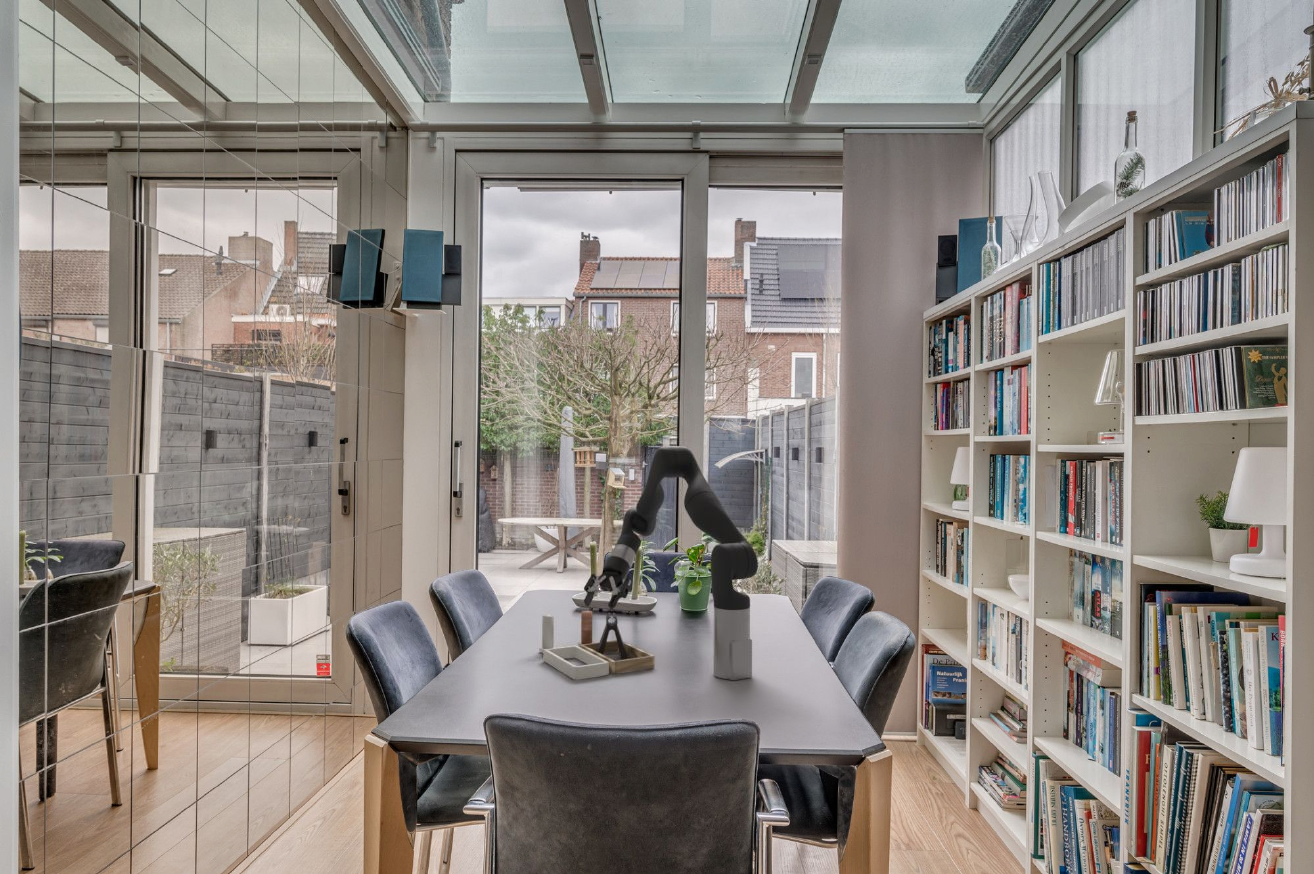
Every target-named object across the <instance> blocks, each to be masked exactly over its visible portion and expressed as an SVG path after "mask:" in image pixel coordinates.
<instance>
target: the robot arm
mask: <svg viewBox="0 0 1314 874" xmlns="http://www.w3.org/2000/svg"><path fill="white" fill-rule="evenodd" d="M664 478H666V479H669V478H670V479H673V478H680V479H681V478H682V479H683V480H685V482H686V484H687V489H686V492H685V495H684V499H683V507H684V509H685V511H686V513H687V515H688V516H689V519H690V520H691V522H692V523H693V526H696V528H698V529H699V530H700V531H701V532H702V533H703V534H704V533H705V534H706V535H707V536H709V537H711V538H712V539H714V540H716V541H717V542H718V544H715V546H714V547H713V549H712V550H711V554H710V575H711V576H710V577H711V578H710V579H711V581H710V582H711V595H712V599H713V676H714V677H716V678H719V679H724V680H731V681H737V680H742V679H749V678H752V677H753V639H751V597H750V595H748V594H746V593H744V592H741V591H738V590H736V589H735V588H734V585H733V583H734V582H733V581H736V580H737V581H738V580H746V579H750V578H752V577H755V575H756V574H757V572H758V569H759V560H758V557H757V554H756V551H755V550H754V548H753V546H752V545H751V544H750V542H749V541H748V539H747V538H746V537H745V536H744V535H743V533H742V532H741V531H740V529H738V528H737V525H735V524H734V522H733V521H732V519H731V518H730V516H729V515H728V513H727V512H726V509H725V508H724V506H723V505H722V503H721V502H720V500H719V498H718V496H717V495H716V494H715V492H714V491H713V489H712V488H711V487H710V485H709V483H708V481H707V480H706V478H705V477H704V475H703V473H702V470H701V468H700V465H699V464H698V461H697V459H696V458H695V456H694V453H693V452H692V451H691V449H690V448H688V447H686V446H682V445H677V446H676V445H675V446H674V445H669V446H668V445H667V446H666V445H665V446H661V447H659V448H657V450H656V451H655V453H654V455H653V458H652V462H651V465H650V468H649V472H648V476H647V480H646V483H645V487H644V489H643V491H642V494H641V495H640V497H639V500H638V501H637V504H636V506H635V507H631V508H629V509H627V511H626V512H625V514H624V515H623V516H624V517H623V522H622V527H621V532H620V535H619V538H618V540H617V542H616V544H615V545H614V547H613V548H612V551H610V553H609V556H608V558H607V560H606V562H605V564H604V566H603V568H602V573H601V574H600V575H599V576H598V575H596V574H595V573H592V574H591V575H590V577H589V579H588V580H587V582H586V584H585V585H584V588H583V590H584V591H585V593H586V596H585V597H584V599H583V602H584V605H585V606H586V607H590V606H591V603H592V601H593V600H594V598H595V596H596V595H597V594H601V593H602V592H603V591H604V592H610V593H613V594H612V595H611V598H610V599H609V602H608V604H607V606H608V608H609V609H610V610H613V609H614V608H615V607H616V606H617V604H618V602H619V600H621V599H622V598H623V599H626V598H627V597H628V594H629V592H630V590H631V587H632V584H633V582H632V580H631V578H630V577H629V576H628V574H629V572H630V569H631V568H632V566H633V564H634V562H635V558H636V556H637V553H638V551H639V550H640V547H641V544H642V540H641V538H640V536H641V537H649V536H651V535H652V534H653V533H654V531H655V528H656V524H657V516H658V513H659V511H660V509H661V507H662V505H663V503H664V500H665V491H664V488H663V486H662V483H661V482H662V481H663V480H664ZM637 534H638V535H637ZM639 535H640V536H639ZM620 586H621V589H620Z"/></svg>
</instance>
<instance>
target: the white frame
mask: <svg viewBox="0 0 1314 874" xmlns="http://www.w3.org/2000/svg"><path fill="white" fill-rule="evenodd" d="M541 617H542V619H541V620H542V626H541V627H542V628H541V630H542V631H541V647H539V648H538V649H539V652H540V654H543V655H542V657H543V662H545V663H546V664H548V665H550V666H551V667H553V668H554V669H556V670H558V671H560V672H561V673H562V674H563V675H566V676H567V677H569V678H571V679H572V680H583V679H589V678H596V677H602V676H608V675H609V674H610V672H609V662H607V661H605V660H604V659H602V658H600V657H598V656H596V655H594V654H592V653H590V652H588V651H586V650H584V649H582V648H580V647H579V646H578V644H577V645H568V646H562V647H561V646H560V647H555V645H554V643H555V642H554V640H555V635H554V633H555V632H554V631H555V628H554V627H555V625H554V624H555V615H554V614H544V615H543V614H542V616H541ZM573 658H575V659H576V660H579V661H581V662H582V663H583V665H579V666H578V665H577V666H576V665H574V664H573V663H571V662H569V661H568V660H566V659H573Z"/></svg>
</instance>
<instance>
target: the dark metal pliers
mask: <svg viewBox="0 0 1314 874" xmlns="http://www.w3.org/2000/svg"><path fill="white" fill-rule="evenodd" d="M612 617H613V619H614V621H613V622H612V621H609V620H610V619H611V612H608V613H607V614H606V616H605V620H606V621H605V626H604V629H603V633H602V635H601V637H600V640H599V642H598V643H599V645H598V648H597V651H596V652H598V653H600V654H602V655H604V656H606V657H608V658H610V659H612V660H614V661H618V660H625V659H629V656H628V654H627V651H626V649H625V646H624V643H623V642H624V641H623V637H622V635H621V633H620V629H619V626H618V616H617V614H616V613H615V612H612ZM610 631H614V634H615V635H614V636H615V640H617V643H618V647H619V651H620V652H619V654H605V653H604V650H605V646H606V642H607V641H608V639H609V634H610Z"/></svg>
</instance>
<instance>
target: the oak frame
mask: <svg viewBox="0 0 1314 874" xmlns="http://www.w3.org/2000/svg"><path fill="white" fill-rule="evenodd" d="M580 612H581V613H580V614H581V617H580V619H581V621H580V622H581V624H580V628H581V629H580V631H581V632H580V641H581V642H578V643H577V646H578V647H580V648H582V649H584V650H586V651H588V652H590V653H592V654H594V655H596V656H598V657H600V658H602V659H604V660H605V661H607V662H609V673H611V674H622V673H629V672H630V673H631V672H636V671H641V670H642V671H643V670H649V669H653V668H655V665H656V664H655V659H656V657H655V655H653V654H651V653H650V652H647V651H645V650H642V649H640V648H638V647H636V646H634V645H632V644H629V643H627V642H625V641H623V643H624V646H625V649H626V651H627V654H628V659H625V660H618V661H614V660H612V659H610V658H608V657H606V656H604V655H605V654H610V653H616V652H618V653H620V651H619V647H618V643H617V639H615V640H609V641H608V640H607V642H606V646H605V650H604V653H603V655H602V654H600V653H598V652H596V651H597V648H598V645H599V642H593V611H592V610H582V611H580Z"/></svg>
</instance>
